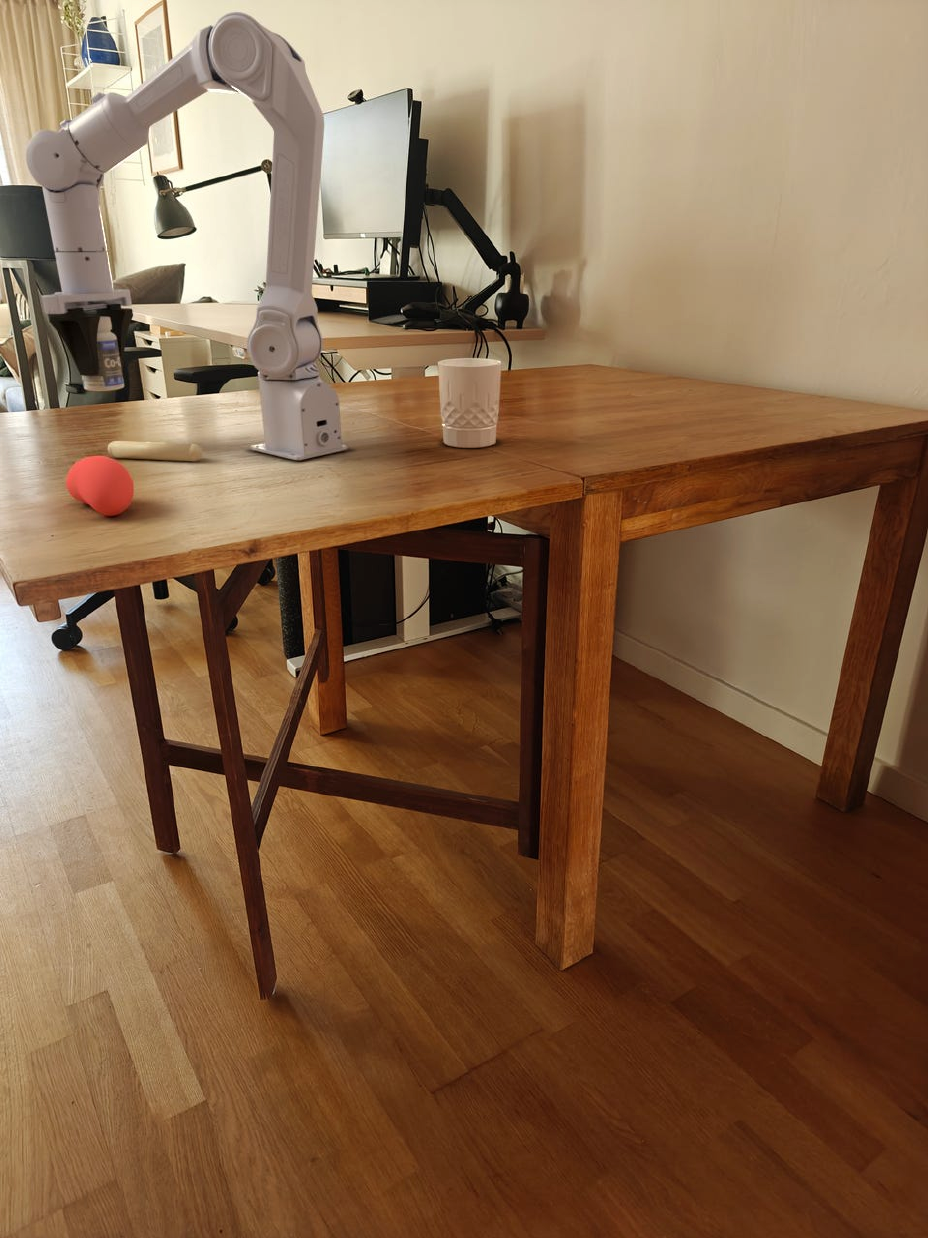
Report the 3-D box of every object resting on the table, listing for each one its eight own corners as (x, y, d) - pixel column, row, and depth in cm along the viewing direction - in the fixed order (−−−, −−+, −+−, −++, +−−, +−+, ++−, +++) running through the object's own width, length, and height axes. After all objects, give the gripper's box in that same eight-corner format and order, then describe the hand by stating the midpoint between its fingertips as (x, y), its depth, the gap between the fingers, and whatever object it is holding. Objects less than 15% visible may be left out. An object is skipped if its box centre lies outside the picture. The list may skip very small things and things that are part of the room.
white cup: (506, 438, 109) (507, 358, 105) (492, 451, 102) (493, 366, 98) (449, 434, 111) (448, 357, 107) (431, 447, 104) (429, 364, 100)
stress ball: (139, 506, 86) (103, 452, 84) (152, 494, 78) (112, 434, 76) (94, 532, 84) (55, 477, 82) (102, 522, 76) (59, 461, 74)
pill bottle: (115, 391, 102) (103, 318, 98) (77, 391, 102) (63, 318, 98) (131, 385, 106) (119, 315, 103) (94, 385, 106) (81, 315, 103)
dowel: (207, 454, 99) (201, 440, 98) (201, 465, 98) (195, 451, 96) (116, 450, 101) (109, 437, 100) (108, 460, 100) (101, 447, 99)
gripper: (87, 251, 105) (107, 363, 110) (8, 252, 92) (35, 379, 97) (138, 251, 103) (155, 364, 109) (65, 252, 90) (89, 381, 96)
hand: (102, 372), depth 103 cm, fingers closed on pill bottle, 5 cm apart
